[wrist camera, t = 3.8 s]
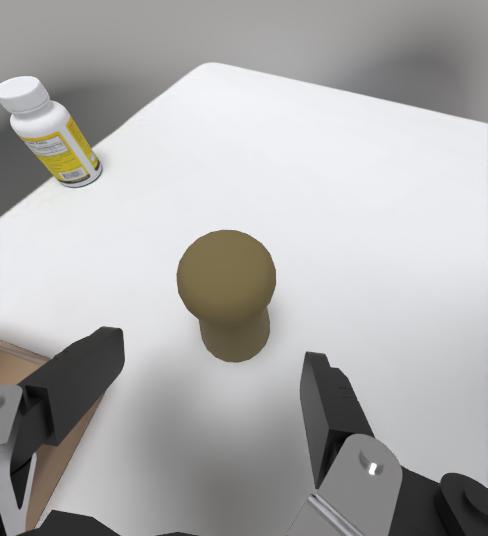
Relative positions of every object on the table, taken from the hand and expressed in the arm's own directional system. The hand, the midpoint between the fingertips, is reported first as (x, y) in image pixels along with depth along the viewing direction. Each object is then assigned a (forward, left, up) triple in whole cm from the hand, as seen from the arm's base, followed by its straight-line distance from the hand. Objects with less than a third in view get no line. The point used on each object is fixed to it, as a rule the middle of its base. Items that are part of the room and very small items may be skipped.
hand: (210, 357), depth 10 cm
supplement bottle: (+26, -17, -10) cm, 32 cm away
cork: (+1, -4, -10) cm, 11 cm away
